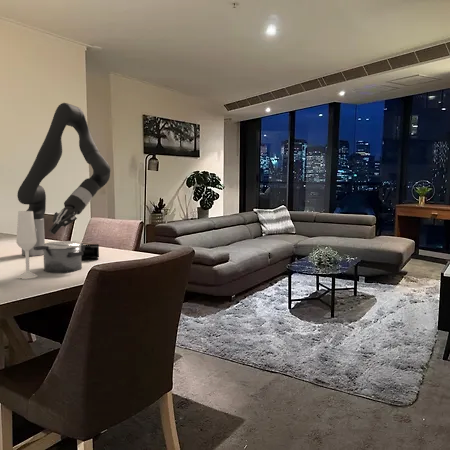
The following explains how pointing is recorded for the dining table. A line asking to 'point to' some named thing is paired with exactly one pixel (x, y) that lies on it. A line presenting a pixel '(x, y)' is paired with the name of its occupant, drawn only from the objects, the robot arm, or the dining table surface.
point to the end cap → (90, 252)
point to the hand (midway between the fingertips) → (51, 232)
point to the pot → (63, 260)
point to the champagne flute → (26, 238)
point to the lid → (59, 245)
